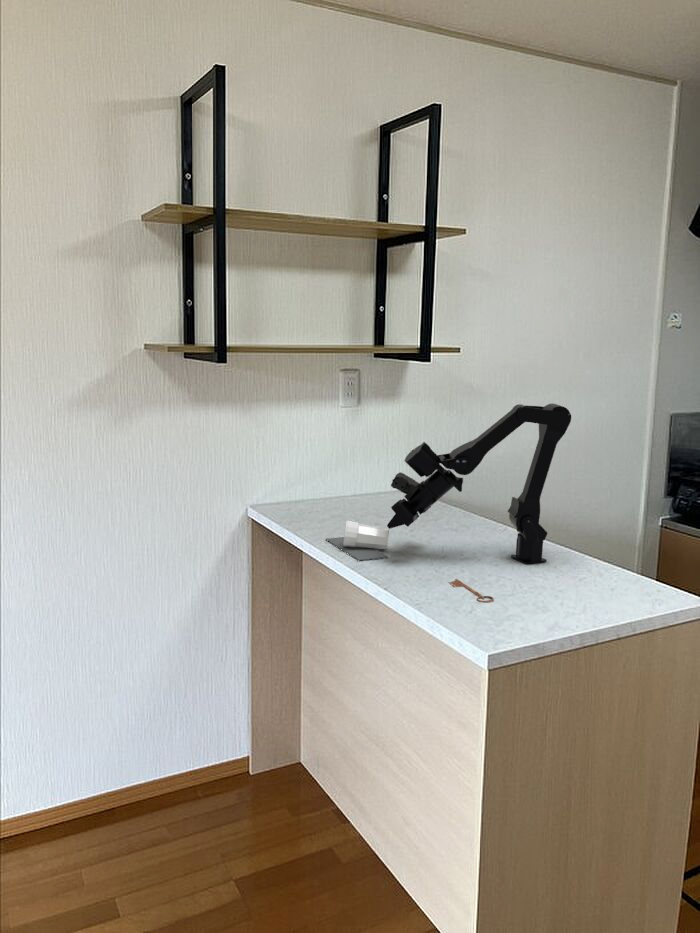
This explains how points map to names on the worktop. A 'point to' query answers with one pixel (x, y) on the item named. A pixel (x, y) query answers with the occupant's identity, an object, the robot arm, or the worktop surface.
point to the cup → (365, 536)
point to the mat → (357, 550)
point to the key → (471, 591)
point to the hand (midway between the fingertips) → (388, 526)
